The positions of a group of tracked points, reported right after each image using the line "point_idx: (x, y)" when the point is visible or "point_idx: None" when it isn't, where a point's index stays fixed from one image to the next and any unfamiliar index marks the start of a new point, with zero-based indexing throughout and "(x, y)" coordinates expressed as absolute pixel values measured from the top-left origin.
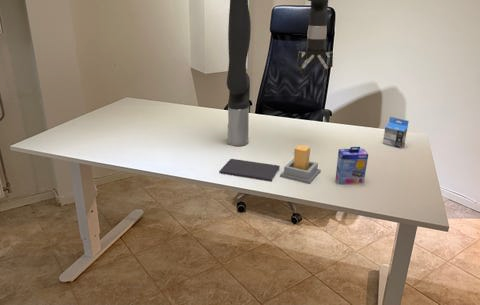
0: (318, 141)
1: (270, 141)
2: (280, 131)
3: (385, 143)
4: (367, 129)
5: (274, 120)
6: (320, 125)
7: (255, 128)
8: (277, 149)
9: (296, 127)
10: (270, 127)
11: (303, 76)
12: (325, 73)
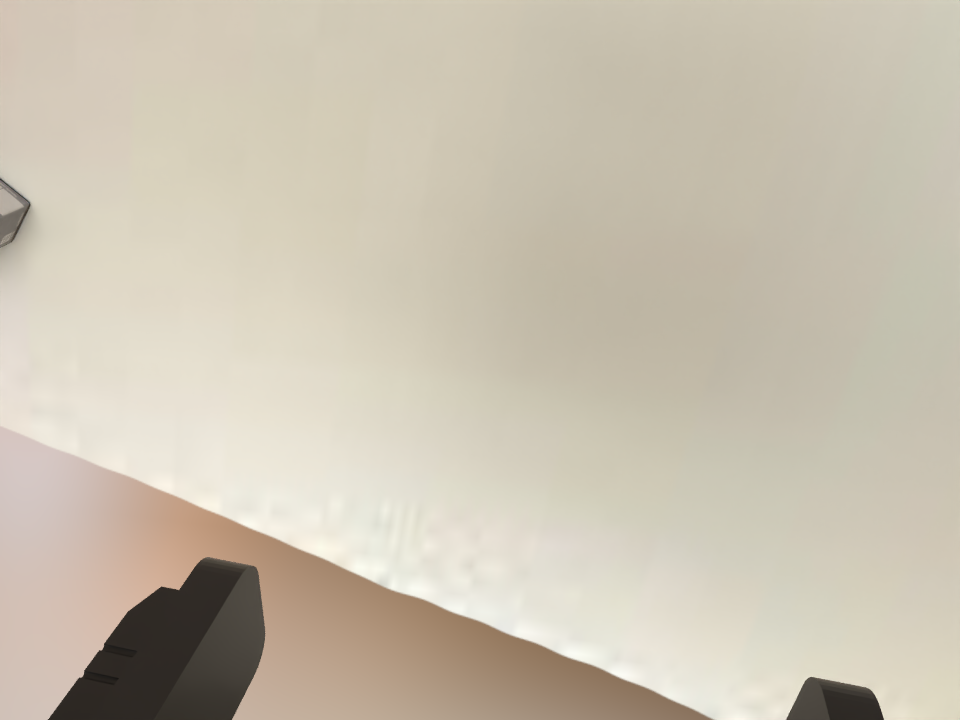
0: (484, 275)
1: (891, 300)
2: (735, 483)
3: (6, 190)
4: (127, 452)
5: (719, 660)
6: (418, 546)
7: (919, 556)
8: (893, 114)
9: (593, 535)
10: (790, 558)
11: (856, 697)
12: (138, 653)
